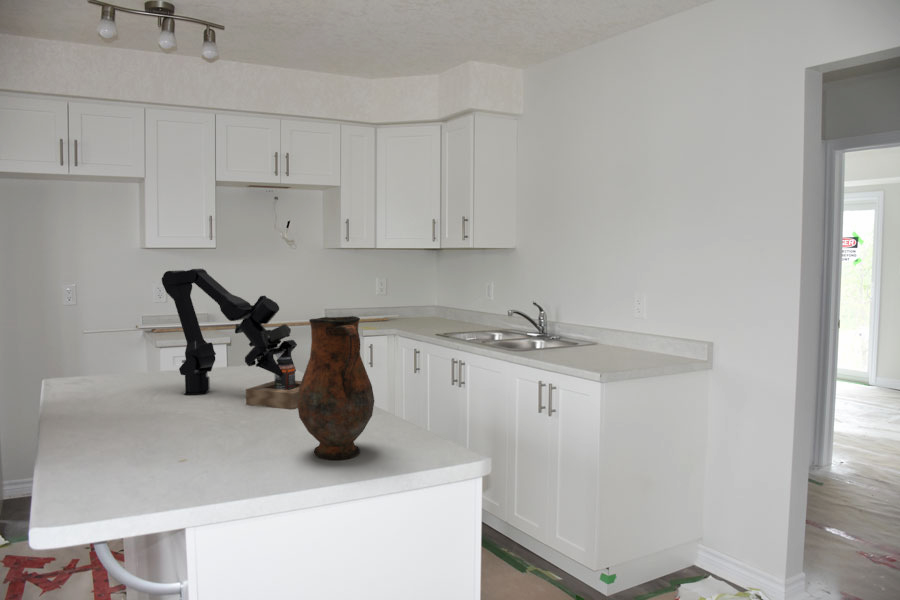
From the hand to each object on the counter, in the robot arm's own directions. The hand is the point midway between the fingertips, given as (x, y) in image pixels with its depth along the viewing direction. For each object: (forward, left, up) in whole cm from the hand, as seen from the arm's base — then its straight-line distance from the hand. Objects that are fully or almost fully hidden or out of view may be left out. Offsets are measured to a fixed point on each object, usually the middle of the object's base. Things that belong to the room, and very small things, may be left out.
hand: (288, 373), depth 198 cm
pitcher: (+13, -56, -8) cm, 58 cm away
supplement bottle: (-1, +1, -7) cm, 7 cm away
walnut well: (-1, +1, -8) cm, 8 cm away
